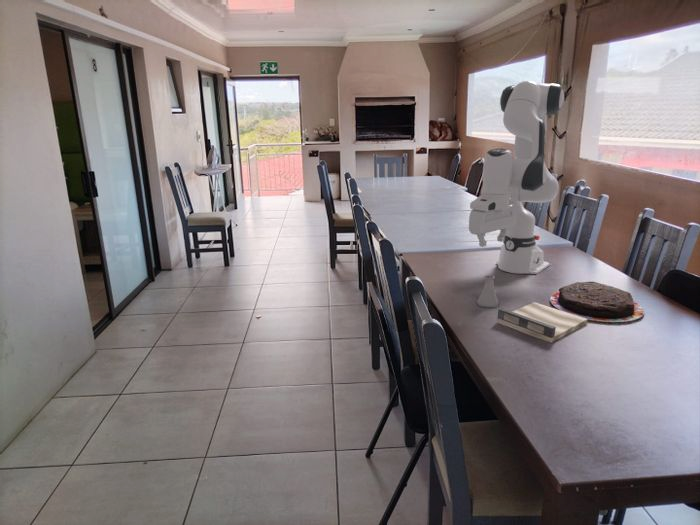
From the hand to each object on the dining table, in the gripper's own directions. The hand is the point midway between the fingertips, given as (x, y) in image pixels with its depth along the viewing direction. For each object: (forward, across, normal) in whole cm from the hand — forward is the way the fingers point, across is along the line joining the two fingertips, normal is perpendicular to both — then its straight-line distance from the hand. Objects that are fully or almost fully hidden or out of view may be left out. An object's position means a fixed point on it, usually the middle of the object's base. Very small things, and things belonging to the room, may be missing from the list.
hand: (491, 243), depth 156 cm
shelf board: (+21, 0, +20) cm, 29 cm away
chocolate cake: (+22, -25, +24) cm, 41 cm away
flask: (+22, 0, 0) cm, 22 cm away
